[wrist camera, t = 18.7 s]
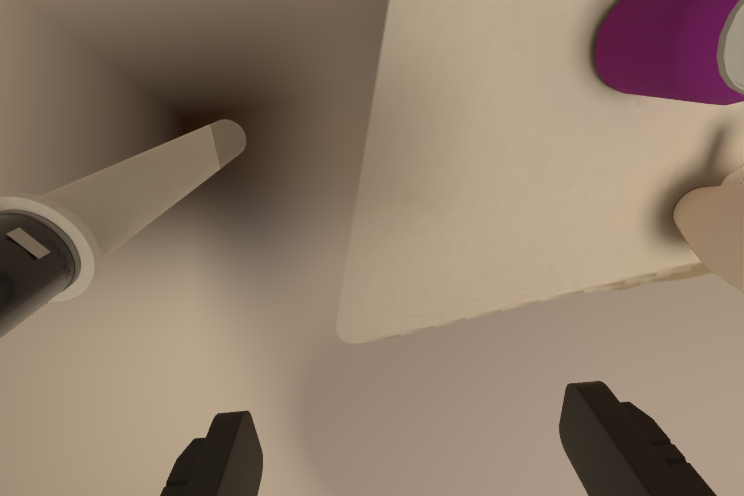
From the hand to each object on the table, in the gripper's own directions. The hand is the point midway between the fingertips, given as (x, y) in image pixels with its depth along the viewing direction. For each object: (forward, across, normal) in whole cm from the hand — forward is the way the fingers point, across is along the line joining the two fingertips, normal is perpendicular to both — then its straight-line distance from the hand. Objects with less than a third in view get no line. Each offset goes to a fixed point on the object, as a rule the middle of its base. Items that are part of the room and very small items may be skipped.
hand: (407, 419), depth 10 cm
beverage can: (+27, -22, -8) cm, 36 cm away
